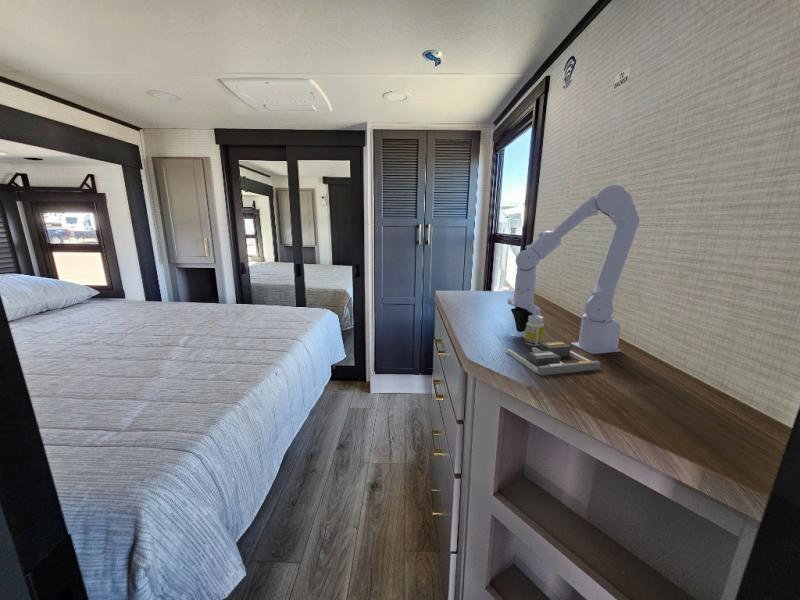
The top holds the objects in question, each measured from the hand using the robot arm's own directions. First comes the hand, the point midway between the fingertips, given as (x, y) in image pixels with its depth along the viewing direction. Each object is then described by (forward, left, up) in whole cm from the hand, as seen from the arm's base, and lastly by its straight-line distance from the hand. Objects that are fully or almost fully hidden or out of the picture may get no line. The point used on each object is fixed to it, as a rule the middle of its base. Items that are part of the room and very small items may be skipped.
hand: (520, 331), depth 98 cm
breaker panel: (+4, +19, -2) cm, 19 cm away
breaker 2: (0, +16, -2) cm, 16 cm away
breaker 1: (+8, +21, -2) cm, 23 cm away
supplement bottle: (0, +7, -2) cm, 7 cm away
